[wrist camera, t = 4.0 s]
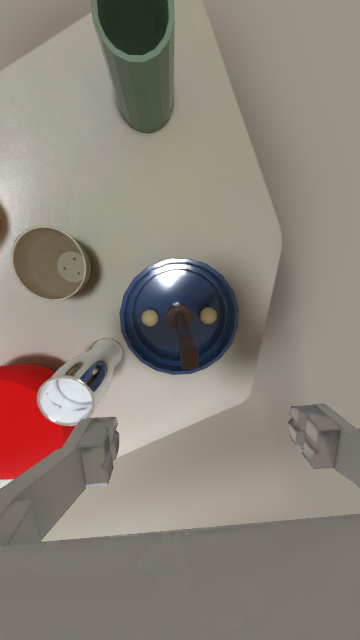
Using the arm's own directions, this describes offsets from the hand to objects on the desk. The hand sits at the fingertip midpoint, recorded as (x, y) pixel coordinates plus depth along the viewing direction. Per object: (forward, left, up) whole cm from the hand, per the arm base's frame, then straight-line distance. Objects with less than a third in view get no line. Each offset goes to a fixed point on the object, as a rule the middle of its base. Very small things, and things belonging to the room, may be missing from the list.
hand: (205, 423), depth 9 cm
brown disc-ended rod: (0, 0, -27) cm, 27 cm away
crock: (+4, -33, -28) cm, 43 cm away
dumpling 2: (-5, 0, -26) cm, 26 cm away
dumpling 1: (+5, 0, -26) cm, 26 cm away
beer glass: (+14, +7, -28) cm, 32 cm away
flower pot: (+18, -9, -28) cm, 34 cm away
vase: (+27, +15, -28) cm, 42 cm away
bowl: (0, 0, -28) cm, 28 cm away
